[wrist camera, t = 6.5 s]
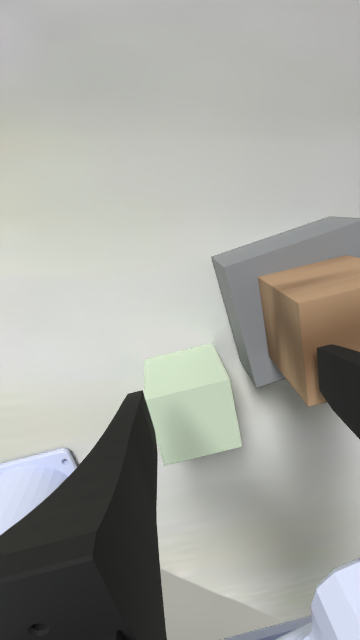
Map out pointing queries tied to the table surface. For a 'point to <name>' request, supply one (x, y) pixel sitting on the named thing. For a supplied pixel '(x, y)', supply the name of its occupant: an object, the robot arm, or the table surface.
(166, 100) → the table surface
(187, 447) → the sage cube
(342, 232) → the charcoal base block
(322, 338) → the walnut cube
